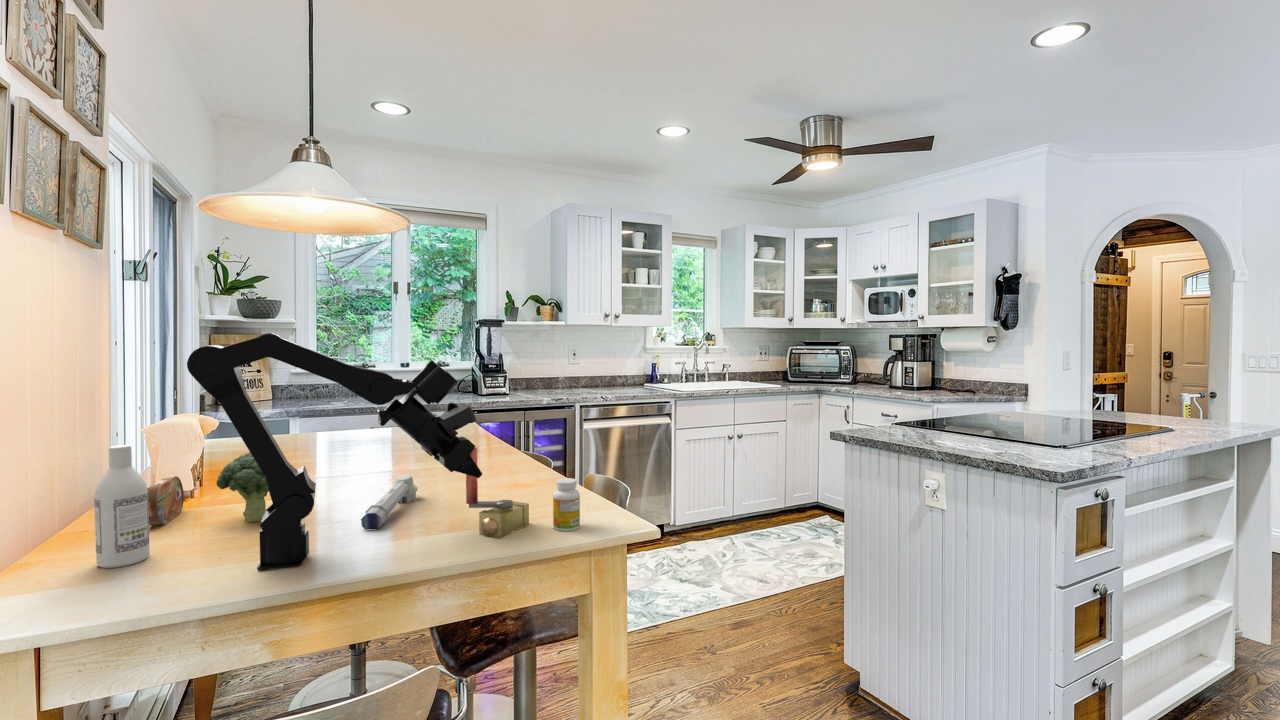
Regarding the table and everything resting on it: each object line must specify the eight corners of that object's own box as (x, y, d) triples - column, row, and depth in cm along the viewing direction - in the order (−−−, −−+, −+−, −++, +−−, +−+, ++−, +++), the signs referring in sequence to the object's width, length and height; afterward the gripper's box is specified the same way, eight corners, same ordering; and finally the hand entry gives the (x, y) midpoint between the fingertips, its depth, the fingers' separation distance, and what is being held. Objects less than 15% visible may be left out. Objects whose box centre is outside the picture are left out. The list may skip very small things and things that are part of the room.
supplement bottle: (554, 523, 123) (554, 477, 123) (580, 523, 124) (580, 477, 123) (552, 532, 118) (552, 483, 118) (579, 531, 118) (579, 483, 118)
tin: (160, 529, 119) (158, 488, 119) (140, 531, 118) (139, 489, 118) (185, 509, 133) (184, 472, 133) (168, 511, 132) (167, 473, 132)
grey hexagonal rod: (356, 512, 118) (396, 468, 143) (358, 543, 120) (398, 494, 144) (383, 512, 119) (419, 468, 143) (385, 543, 120) (420, 494, 144)
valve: (499, 538, 114) (499, 516, 114) (477, 535, 116) (477, 512, 116) (530, 524, 123) (530, 503, 123) (509, 520, 125) (509, 500, 125)
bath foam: (159, 553, 106) (156, 442, 105) (130, 568, 99) (126, 449, 98) (117, 554, 105) (114, 442, 105) (85, 569, 99) (81, 450, 98)
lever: (514, 504, 121) (513, 446, 121) (511, 509, 118) (510, 449, 117) (468, 504, 121) (468, 446, 120) (464, 509, 117) (463, 449, 117)
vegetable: (286, 524, 123) (284, 452, 122) (211, 533, 117) (209, 457, 116) (292, 509, 134) (290, 442, 133) (223, 516, 128) (222, 447, 127)
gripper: (463, 396, 107) (521, 450, 113) (437, 386, 122) (489, 435, 129) (418, 443, 103) (481, 497, 109) (396, 427, 118) (452, 475, 125)
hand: (476, 473), depth 118 cm, fingers open, 4 cm apart
